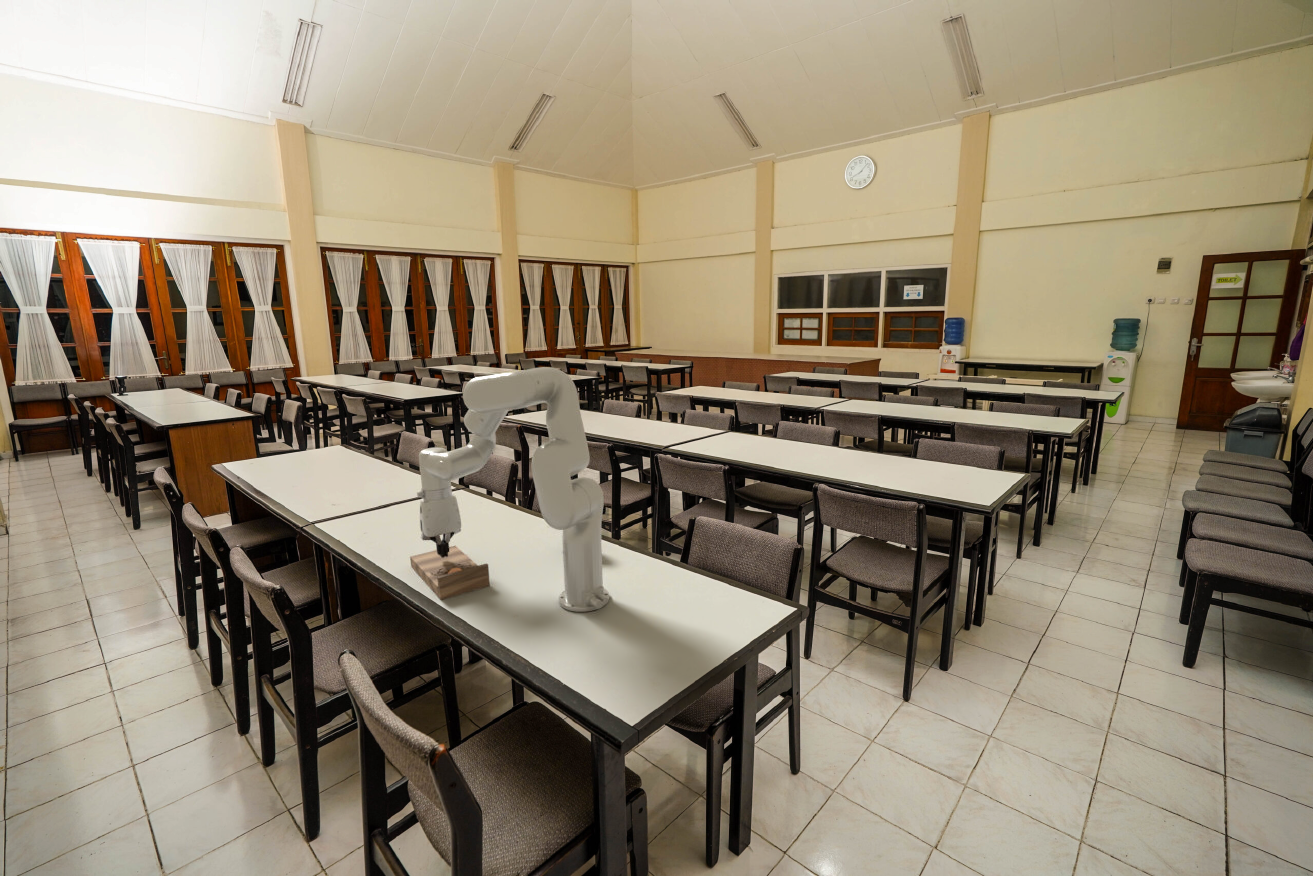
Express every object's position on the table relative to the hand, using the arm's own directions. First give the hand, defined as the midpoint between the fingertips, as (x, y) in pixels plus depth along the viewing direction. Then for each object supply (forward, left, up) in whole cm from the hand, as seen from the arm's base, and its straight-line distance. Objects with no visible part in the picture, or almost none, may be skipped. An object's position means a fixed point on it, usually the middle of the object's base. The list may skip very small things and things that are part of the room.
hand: (443, 555), depth 167 cm
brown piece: (-4, 0, -5) cm, 6 cm away
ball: (-10, 0, -3) cm, 10 cm away
